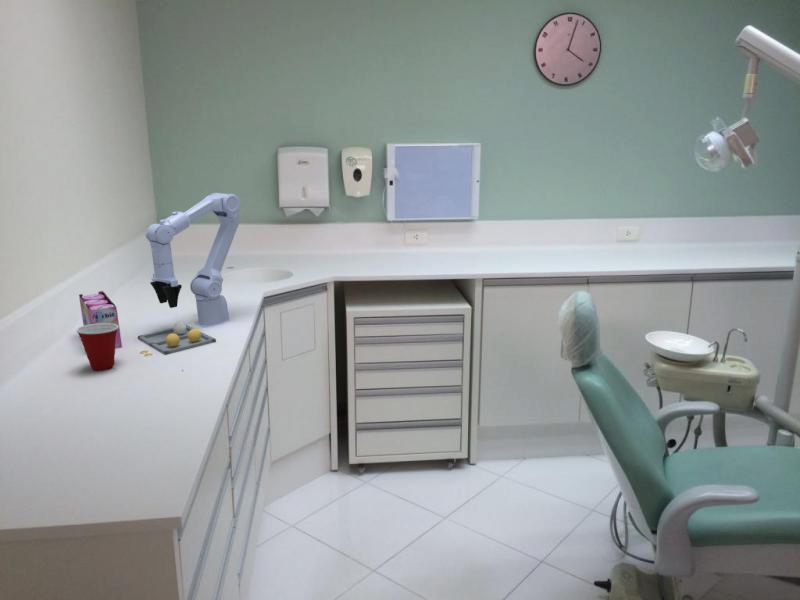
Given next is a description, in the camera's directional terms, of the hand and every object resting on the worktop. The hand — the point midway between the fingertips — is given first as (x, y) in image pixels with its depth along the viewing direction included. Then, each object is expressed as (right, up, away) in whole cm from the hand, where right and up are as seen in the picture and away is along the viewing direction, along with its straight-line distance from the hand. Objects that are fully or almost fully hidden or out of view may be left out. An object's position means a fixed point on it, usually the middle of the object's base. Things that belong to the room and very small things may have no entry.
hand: (168, 304), depth 216 cm
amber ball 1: (+5, -12, -10) cm, 17 cm away
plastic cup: (-10, -17, -24) cm, 31 cm away
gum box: (-20, -12, -2) cm, 23 cm away
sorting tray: (+4, -11, -4) cm, 13 cm away
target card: (-1, -15, -15) cm, 21 cm away
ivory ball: (+3, -9, +1) cm, 10 cm away
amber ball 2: (+10, -11, -6) cm, 17 cm away
